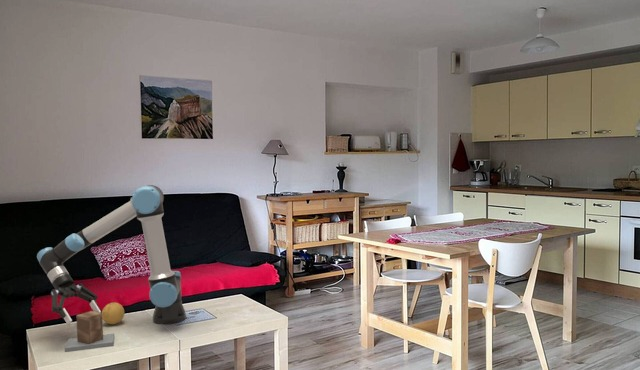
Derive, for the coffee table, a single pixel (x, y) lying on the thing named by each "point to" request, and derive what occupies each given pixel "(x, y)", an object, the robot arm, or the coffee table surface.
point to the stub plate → (75, 345)
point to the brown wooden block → (89, 327)
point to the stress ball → (113, 313)
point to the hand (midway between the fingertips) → (84, 318)
